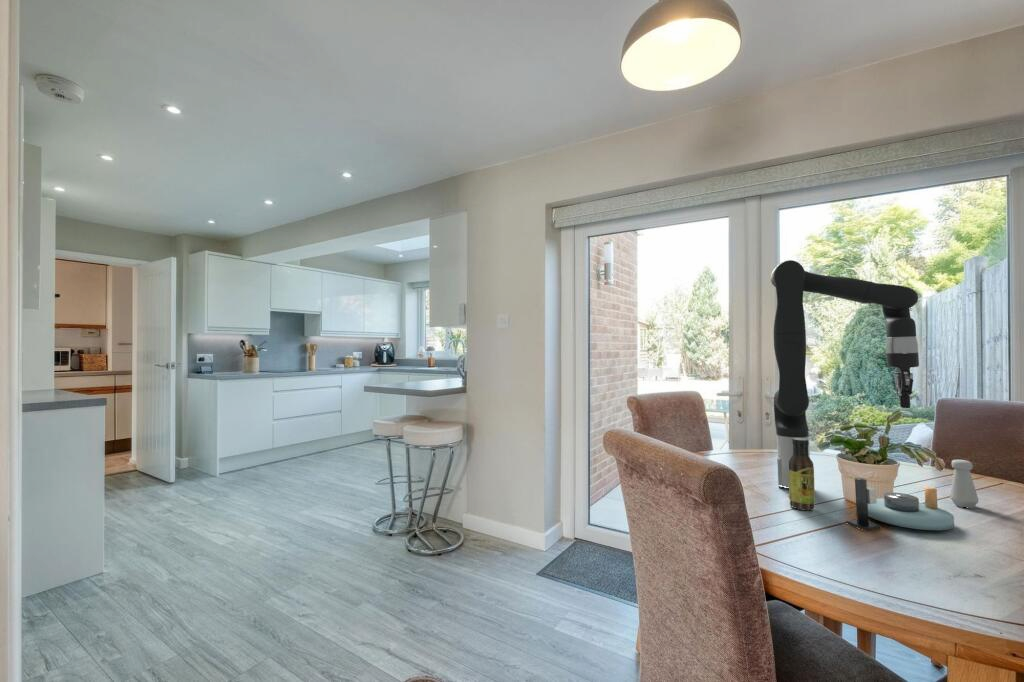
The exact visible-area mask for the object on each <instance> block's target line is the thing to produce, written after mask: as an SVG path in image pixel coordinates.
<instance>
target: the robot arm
mask: <svg viewBox="0 0 1024 682" xmlns="http://www.w3.org/2000/svg"><path fill="white" fill-rule="evenodd" d="M769 278H770V283H771V284H772V285H773V287H774V288H775V292H776V301H777V302H776V309H775V311H776V312H775V317H774V322H773V349H774V355H775V360H776V364H777V368H778V373H779V377H778V378H779V380H778V381H779V382H778V383H779V384H778V390H777V391H776V392H775V393H774V397H773V413H774V425H775V432H776V433H775V434H776V449H777V450H776V451H777V452H776V453H777V457H776V458H777V459H776V461H777V463H776V464H777V482H778V485H782V486H786V487H789V460H790V459H791V457H792V456H793V443H792V439H793V438H804V439H808V440H809V441H810V434H809V432H810V431H809V426H808V423H807V414H806V413H807V410H808V408H809V405H810V399H809V393H808V388H807V387H808V386H807V380H806V362H807V331H806V319H805V311H804V309H805V308H804V292H806V293H807V292H808V293H815V294H820V295H825V296H828V297H833V298H837V299H842V300H846V301H851V302H856V303H860V304H865V305H866V304H867V305H869V304H872V305H873V304H875V305H879V306H881V309H882V313H883V319H884V321H885V324H886V325H885V329H886V333H885V334H886V343H885V351H886V352H885V353H886V365H887V368H896V372H894V374H893V378H894V382H895V387H896V392H897V394H898V397H899V407H900V408H902V409H910V408H911V400H910V399H911V398H910V397H911V396H912V394H913V384H914V373H912V372H911V368H917V367H919V366H920V359H919V358H920V356H919V344H918V338H917V326H916V321H915V319H913V318H912V317H911V311H910V309H911V308H912V307H914V306H915V305H916V304H917V302H918V300H919V295H918V293H917V291H915V290H914V289H913V288H911V287H908V286H904V285H900V284H899V285H898V284H889V283H888V284H887V283H878V282H873V281H871V280H870V281H869V280H865V279H859V278H854V277H847V276H835V275H834V276H833V275H823V274H817V273H813V272H809V271H805V269H804V266H803V265H802V264H801V263H799V262H798V261H796V260H792V259H787V260H784V261H782V262H781V263H779V264H777V265H776V266H775V267H774V269H773V270H772V272H771V273H770V277H769ZM810 451H811V450H810V444H809V445H808V453H809V454H808V456H809V457H810V458H811V455H810Z"/></svg>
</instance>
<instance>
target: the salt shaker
mask: <svg viewBox="0 0 1024 682" xmlns="http://www.w3.org/2000/svg"><path fill="white" fill-rule="evenodd" d="M951 467H952V468H953V469H954V470H953V476H952V481H951V487H950V493H949V497H950V500H951V501H952V503H953V504H955V505H954V506H955V507H957V506H960V507H959V508H961V507H968V508H973V509H975V507H976V506H977V505H978V503H979V497H978V493H977V490H976V486H975V483H974V481H973V480H974V479H973V476H972V474H971V470H973V467H974V466H973V463H972V462H971V461H969V460H966V459H953V460H951ZM968 508H967V509H968Z"/></svg>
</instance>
